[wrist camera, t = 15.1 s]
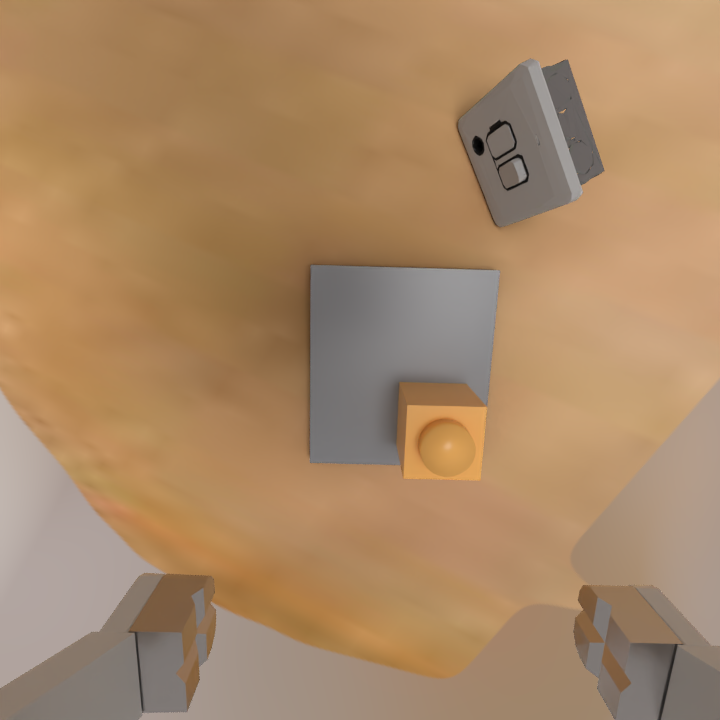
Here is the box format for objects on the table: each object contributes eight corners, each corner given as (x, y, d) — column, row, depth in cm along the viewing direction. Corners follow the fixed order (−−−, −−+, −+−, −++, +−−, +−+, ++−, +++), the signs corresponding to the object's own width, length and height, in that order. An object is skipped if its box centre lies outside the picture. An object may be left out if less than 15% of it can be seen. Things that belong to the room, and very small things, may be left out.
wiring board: (312, 264, 39) (305, 265, 33) (494, 270, 39) (516, 271, 33) (311, 455, 42) (304, 483, 37) (477, 459, 43) (494, 488, 37)
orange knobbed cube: (399, 381, 39) (409, 411, 32) (466, 383, 39) (493, 413, 32) (396, 444, 41) (405, 488, 33) (461, 446, 41) (485, 490, 33)
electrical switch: (453, 122, 36) (499, 70, 27) (510, 95, 36) (574, 33, 27) (495, 230, 38) (551, 214, 29) (549, 203, 38) (621, 180, 29)
